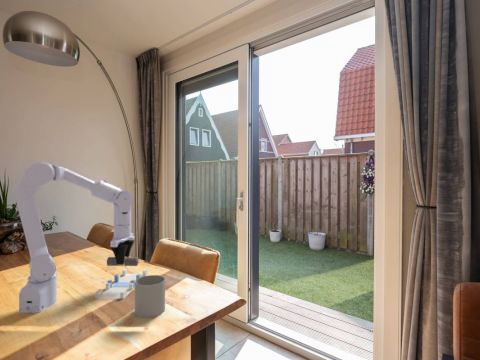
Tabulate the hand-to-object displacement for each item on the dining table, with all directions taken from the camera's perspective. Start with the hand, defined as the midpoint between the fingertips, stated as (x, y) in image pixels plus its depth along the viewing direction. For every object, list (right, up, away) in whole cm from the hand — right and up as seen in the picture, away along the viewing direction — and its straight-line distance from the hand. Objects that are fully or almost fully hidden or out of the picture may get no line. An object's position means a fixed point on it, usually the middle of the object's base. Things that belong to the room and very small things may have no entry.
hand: (122, 262), depth 101 cm
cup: (+15, -10, -18) cm, 26 cm away
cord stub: (0, -1, 0) cm, 1 cm away
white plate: (0, -10, +2) cm, 10 cm away
